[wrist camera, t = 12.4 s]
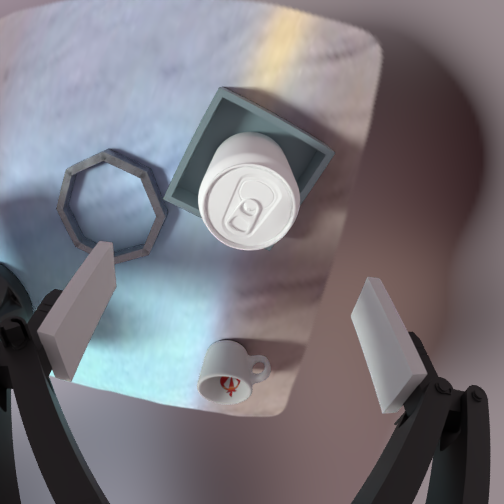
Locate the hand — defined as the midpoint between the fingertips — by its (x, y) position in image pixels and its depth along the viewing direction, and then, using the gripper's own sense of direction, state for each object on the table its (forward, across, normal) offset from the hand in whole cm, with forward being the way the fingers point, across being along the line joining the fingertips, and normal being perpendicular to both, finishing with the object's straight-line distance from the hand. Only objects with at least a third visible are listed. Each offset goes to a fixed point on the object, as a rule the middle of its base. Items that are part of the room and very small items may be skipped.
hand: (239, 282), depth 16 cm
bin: (+22, 0, 0) cm, 22 cm away
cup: (+22, +3, -29) cm, 37 cm away
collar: (+22, -16, -7) cm, 28 cm away
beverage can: (+22, +1, 0) cm, 22 cm away
